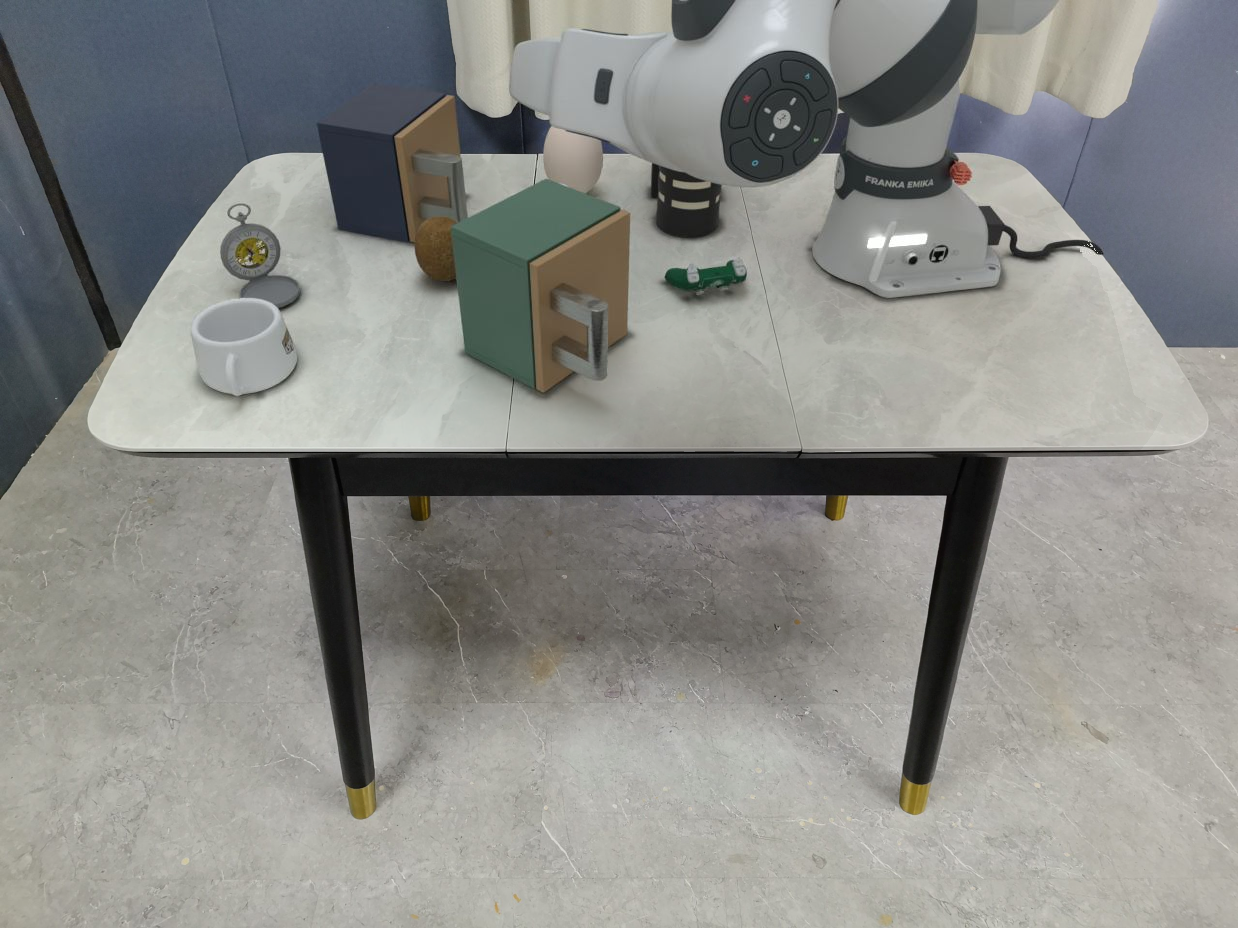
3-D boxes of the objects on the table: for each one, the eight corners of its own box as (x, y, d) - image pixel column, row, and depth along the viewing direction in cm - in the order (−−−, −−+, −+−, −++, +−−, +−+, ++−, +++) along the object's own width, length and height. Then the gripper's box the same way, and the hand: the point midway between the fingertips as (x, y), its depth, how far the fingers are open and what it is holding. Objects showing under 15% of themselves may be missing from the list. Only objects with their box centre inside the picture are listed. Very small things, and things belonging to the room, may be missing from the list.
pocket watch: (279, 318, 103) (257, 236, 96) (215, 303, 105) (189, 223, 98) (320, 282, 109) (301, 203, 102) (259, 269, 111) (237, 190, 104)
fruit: (469, 293, 108) (462, 230, 102) (415, 293, 107) (405, 230, 102) (474, 266, 112) (468, 204, 107) (423, 265, 112) (414, 204, 107)
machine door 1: (505, 203, 124) (498, 102, 115) (460, 251, 114) (448, 145, 105) (458, 195, 126) (447, 94, 117) (409, 241, 116) (394, 136, 107)
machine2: (618, 331, 102) (620, 207, 92) (534, 389, 94) (526, 260, 84) (550, 299, 107) (546, 178, 97) (464, 353, 99) (450, 226, 89)
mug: (210, 345, 99) (194, 297, 95) (303, 339, 100) (291, 291, 96) (188, 415, 90) (169, 365, 86) (290, 408, 91) (276, 358, 87)
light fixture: (650, 237, 118) (656, 96, 106) (648, 188, 128) (654, 55, 116) (726, 238, 118) (741, 98, 106) (719, 190, 128) (731, 56, 116)
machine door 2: (671, 354, 99) (679, 231, 89) (588, 417, 91) (587, 289, 81) (620, 330, 102) (622, 209, 92) (536, 389, 94) (529, 263, 84)
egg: (597, 211, 123) (597, 126, 116) (539, 206, 124) (535, 121, 116) (607, 185, 129) (608, 103, 121) (551, 180, 130) (548, 98, 122)
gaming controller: (667, 303, 110) (681, 291, 104) (661, 272, 110) (675, 258, 104) (739, 293, 112) (757, 280, 106) (734, 262, 112) (751, 248, 106)
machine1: (456, 195, 126) (445, 93, 117) (408, 242, 116) (391, 135, 107) (391, 184, 128) (375, 83, 119) (338, 229, 118) (316, 122, 109)
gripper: (814, 82, 67) (733, 75, 79) (545, 22, 60) (500, 24, 72) (792, 171, 70) (717, 151, 82) (531, 123, 62) (490, 109, 74)
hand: (614, 91), depth 77 cm, fingers open, 8 cm apart
